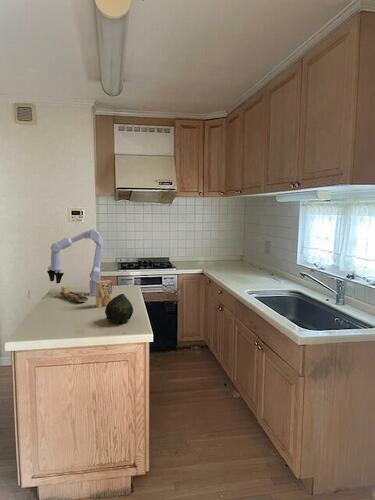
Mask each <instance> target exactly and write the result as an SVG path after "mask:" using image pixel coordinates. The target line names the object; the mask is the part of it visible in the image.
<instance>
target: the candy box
mask: <svg viewBox="0 0 375 500" xmlns="http://www.w3.org/2000/svg"><path fill="white" fill-rule="evenodd" d="M112 299H113V281H112V280H110V279H109V280H108V279H106V280H101V281H99V282H96V296H95V303H96V304H95V306H96V307H97V308H99V309H100V308H106V306H107V304H108V303H109V302H110V301H111V300H112Z"/></svg>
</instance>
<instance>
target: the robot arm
mask: <svg viewBox="0 0 375 500" xmlns="http://www.w3.org/2000/svg"><path fill="white" fill-rule="evenodd" d="M83 239H90V240H92V241H93V242H94V243H95V250H94V257H93V258H94V259H93V262H92V263H93V265H92V269H91V272H90V273H89V277H90V280H89V293H88V294H89V297H94V296H95V297H96V282H99V281H102V280H101V277H102V275H101V265H102V264H101V263H102V260H103V259H102V258H103V252H104V243H105V242H104V240H103V238H102V236H101V234H100V233H99V232H98V230H95V229H94V228H93V229H89V230H86V231H83V232H80V233H78V234H77V235H74V236H72V237H71V238H70V237H64V238H63V239H61V240H57V241H56V242H54V243H52V244H51V245H50V250H51V251H50V254H51V255H50V266H48V268H47V269H48V270H47V271H46V273H47V274H48V276H49V281H50V282H55V281H56V284H60V283H61V281H62V278H63V276H64V274H65V272H63V271H64V270H63V269H62V268H61V250H65V249H67V248H69V247H72V245H73V244H74V243H75V242H78V241H80V240H83Z"/></svg>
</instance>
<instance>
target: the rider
mask: <svg viewBox="0 0 375 500" xmlns="http://www.w3.org/2000/svg"><path fill="white" fill-rule="evenodd" d="M70 291H71V286H69V285H64V286H61V292H63V293H65V294H66V293H70Z"/></svg>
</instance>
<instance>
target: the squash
mask: <svg viewBox="0 0 375 500" xmlns="http://www.w3.org/2000/svg"><path fill="white" fill-rule="evenodd" d="M133 307H134V306H133V305H132V303H131V301H130V300H129V299H128V298H127V296H126V295H125V294H124V293H121V294H118V295H116V296H114V297H112V300H111V301H110V302H109V303H108V304H107V306H106V307H105V309H104V313H105V317H106V318H107V319H108V320H109V321H113V323H115V324H119V323H121V324H122V323H125V322H126V321H129V320H131V319H132V316H133V314H134V308H133Z"/></svg>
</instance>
